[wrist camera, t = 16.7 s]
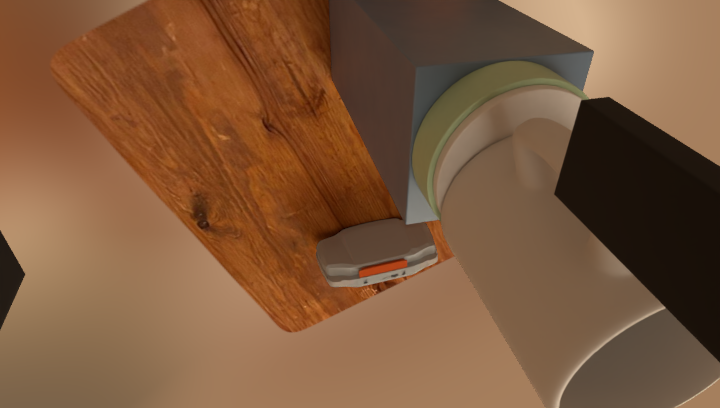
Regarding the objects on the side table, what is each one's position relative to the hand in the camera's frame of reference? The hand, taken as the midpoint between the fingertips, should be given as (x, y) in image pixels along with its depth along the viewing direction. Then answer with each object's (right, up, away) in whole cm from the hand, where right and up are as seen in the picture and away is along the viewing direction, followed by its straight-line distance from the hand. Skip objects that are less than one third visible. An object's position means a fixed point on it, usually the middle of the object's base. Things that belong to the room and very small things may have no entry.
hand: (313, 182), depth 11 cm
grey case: (+2, -4, +50) cm, 51 cm away
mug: (+9, +1, +14) cm, 17 cm away
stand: (+3, +17, +36) cm, 39 cm away
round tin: (+9, +3, +17) cm, 19 cm away
